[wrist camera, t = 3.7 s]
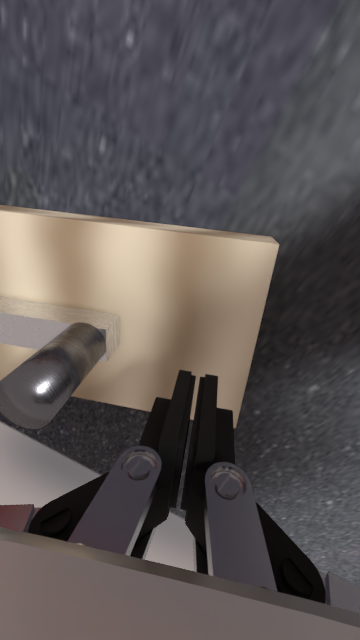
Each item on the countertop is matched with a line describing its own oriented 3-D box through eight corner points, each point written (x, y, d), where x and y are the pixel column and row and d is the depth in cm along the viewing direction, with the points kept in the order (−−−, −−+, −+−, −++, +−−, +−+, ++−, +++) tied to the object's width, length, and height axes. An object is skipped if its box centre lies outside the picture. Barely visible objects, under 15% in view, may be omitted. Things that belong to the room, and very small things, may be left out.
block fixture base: (271, 236, 16) (297, 261, 10) (235, 398, 21) (237, 484, 15) (-164, 185, 20) (-351, 179, 13) (-107, 336, 25) (-224, 384, 18)
